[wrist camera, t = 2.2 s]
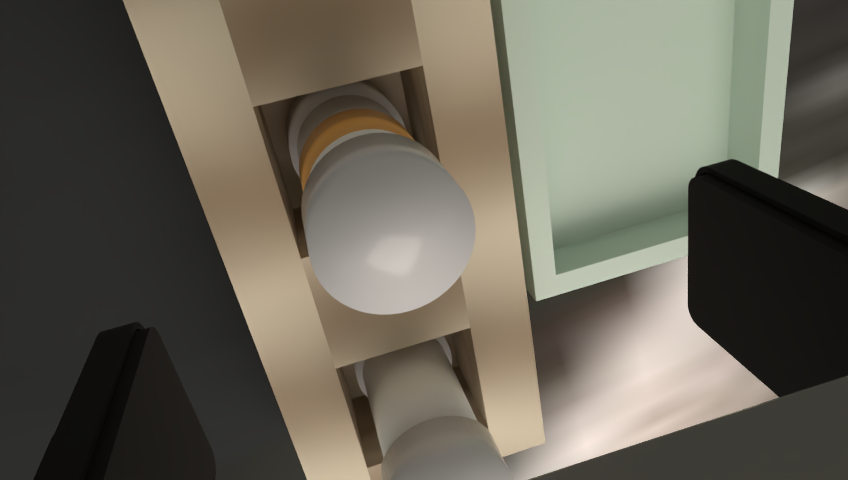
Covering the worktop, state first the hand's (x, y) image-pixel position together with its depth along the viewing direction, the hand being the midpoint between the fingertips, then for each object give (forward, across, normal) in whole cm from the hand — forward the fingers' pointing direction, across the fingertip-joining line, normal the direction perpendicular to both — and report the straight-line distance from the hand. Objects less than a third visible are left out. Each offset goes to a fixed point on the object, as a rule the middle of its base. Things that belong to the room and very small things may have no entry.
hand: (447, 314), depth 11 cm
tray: (+11, -9, -1) cm, 14 cm away
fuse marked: (+10, +1, -1) cm, 10 cm away
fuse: (+10, +1, +7) cm, 12 cm away
